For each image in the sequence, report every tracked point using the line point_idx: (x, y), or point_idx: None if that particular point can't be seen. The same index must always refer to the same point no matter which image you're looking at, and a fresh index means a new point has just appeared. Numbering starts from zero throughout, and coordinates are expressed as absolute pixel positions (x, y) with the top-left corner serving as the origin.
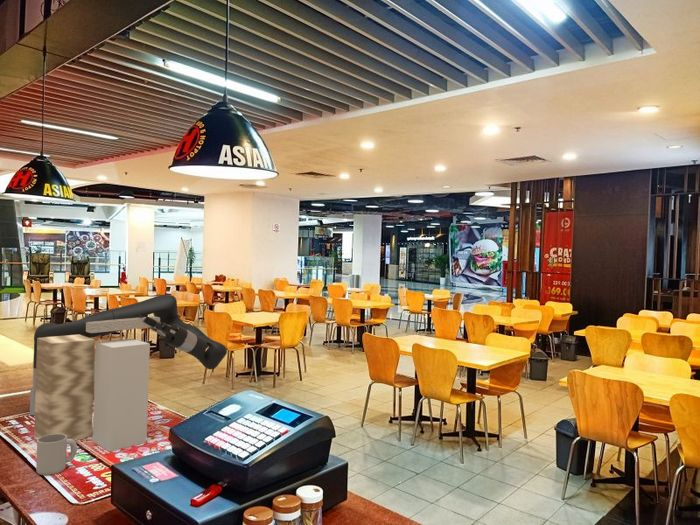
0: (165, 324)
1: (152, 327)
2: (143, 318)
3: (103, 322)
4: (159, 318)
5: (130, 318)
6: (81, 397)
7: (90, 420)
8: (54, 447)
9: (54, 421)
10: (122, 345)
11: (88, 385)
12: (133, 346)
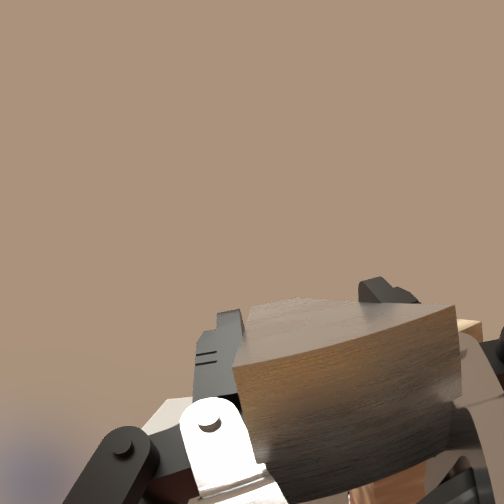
0: (83, 476)
1: (432, 464)
2: (277, 321)
3: (252, 308)
4: (239, 382)
5: (326, 302)
6: (365, 499)
7: None
8: None
9: (351, 497)
10: (174, 414)
11: (369, 488)
12: None
